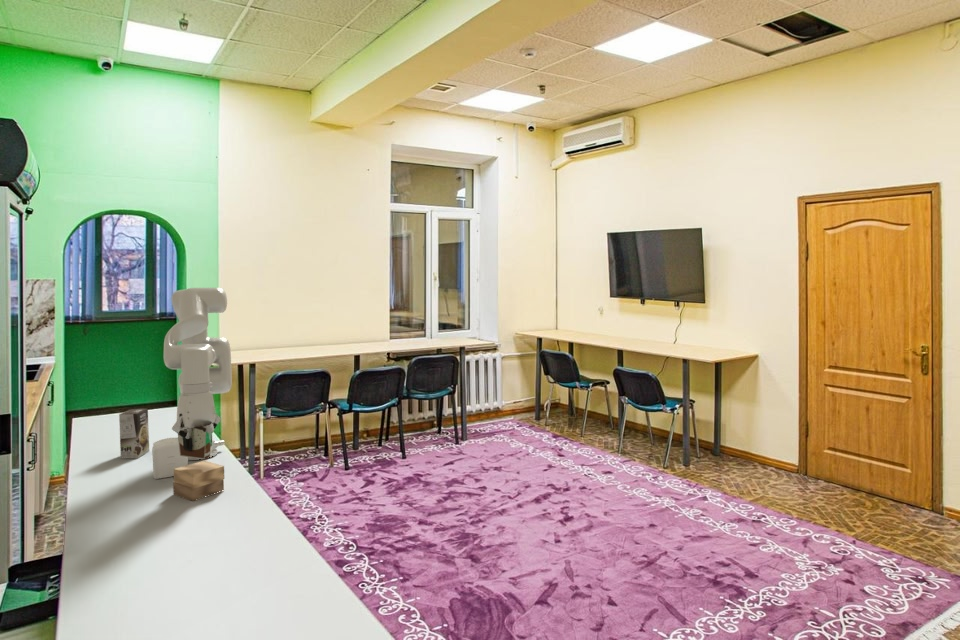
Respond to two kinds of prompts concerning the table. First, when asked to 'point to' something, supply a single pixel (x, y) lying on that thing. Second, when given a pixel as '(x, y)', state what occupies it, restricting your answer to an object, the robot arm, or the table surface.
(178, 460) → the photo printer
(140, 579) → the table surface
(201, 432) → the food container
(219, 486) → the tan cardboard flat block
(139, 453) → the coffee box
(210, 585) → the table surface
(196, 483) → the oak slab
